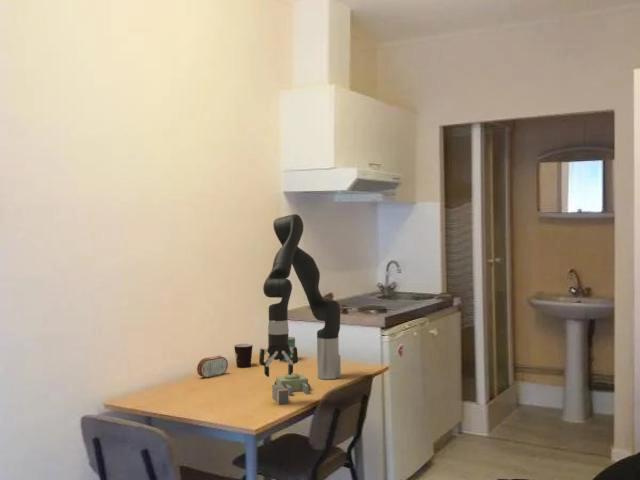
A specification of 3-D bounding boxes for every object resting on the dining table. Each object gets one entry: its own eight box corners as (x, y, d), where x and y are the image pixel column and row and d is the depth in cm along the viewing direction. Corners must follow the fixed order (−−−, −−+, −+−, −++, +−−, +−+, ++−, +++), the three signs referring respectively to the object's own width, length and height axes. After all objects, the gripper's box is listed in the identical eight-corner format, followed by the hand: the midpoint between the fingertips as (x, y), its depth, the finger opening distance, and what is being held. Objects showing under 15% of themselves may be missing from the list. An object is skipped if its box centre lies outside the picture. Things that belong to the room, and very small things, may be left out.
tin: (225, 372, 302) (224, 354, 301) (229, 373, 299) (228, 355, 299) (196, 378, 291) (196, 359, 291) (201, 379, 289) (200, 360, 289)
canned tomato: (277, 362, 323) (277, 339, 323) (281, 358, 331) (280, 336, 330) (293, 362, 322) (293, 339, 321) (296, 359, 329) (296, 336, 329)
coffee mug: (251, 368, 310) (251, 346, 310) (233, 368, 310) (232, 347, 310) (254, 363, 321) (254, 342, 321) (236, 363, 322) (236, 342, 321)
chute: (281, 397, 256) (281, 383, 256) (288, 403, 247) (288, 389, 247) (272, 398, 255) (272, 384, 255) (278, 404, 246) (278, 390, 245)
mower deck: (302, 384, 276) (302, 371, 276) (313, 393, 261) (313, 379, 261) (274, 387, 272) (274, 373, 272) (284, 396, 258) (283, 381, 257)
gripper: (294, 329, 256) (294, 372, 256) (257, 331, 252) (257, 375, 252) (299, 332, 249) (299, 376, 249) (261, 334, 245) (262, 379, 245)
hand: (278, 375), depth 251 cm, fingers open, 8 cm apart
